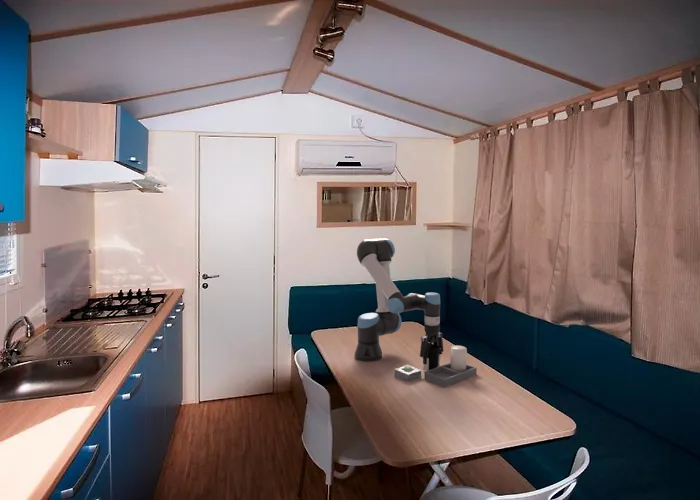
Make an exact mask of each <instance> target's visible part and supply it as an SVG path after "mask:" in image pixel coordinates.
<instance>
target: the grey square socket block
mask: <svg viewBox="0 0 700 500" xmlns="http://www.w3.org/2000/svg"><path fill="white" fill-rule="evenodd" d="M406 366H409V367H412V371H410V372H406V371H404V367H406ZM394 377H396V378H399V379H401V380H403V381H405V382H408V383H409V382H412V381H414V380H415V381H416V380H417V379H420V378H422V369H419V368H417V367H415V366H412V365H409V364H406V365H403V366H400V367H397V368H394Z"/></svg>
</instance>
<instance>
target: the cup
mask: <svg viewBox="0 0 700 500" xmlns="http://www.w3.org/2000/svg"><path fill="white" fill-rule="evenodd" d="M439 349H441V348H440V346H438V348H436V347H435V346H434V344H433V343H432V345H431V347H430V348H429V354H428V357H427V358H429V370H431V369H434V368H437V367H438V359H439Z"/></svg>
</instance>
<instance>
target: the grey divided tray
mask: <svg viewBox="0 0 700 500" xmlns="http://www.w3.org/2000/svg"><path fill="white" fill-rule="evenodd" d="M477 368H478V367H475V366H473V365H470V364H468V363H466V371H464V372H461V373H460V372H457V371H454V370H451V369H450V362H449V363H446V364H444V365H443V364H442V365H440V367H437V368H434V369H431V370H428V371H426V370H424V374H423V375H424V378H423V379H424V380H427V381H429V382H431V383H433V384H435V385H438V386H441V387H442V388H447V387H450V386H451V385H454V384H456V383H460V382H462V381H464V380H467V379H469V378H471V377H474V376H477V371H478V369H477Z"/></svg>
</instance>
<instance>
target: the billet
mask: <svg viewBox="0 0 700 500" xmlns="http://www.w3.org/2000/svg"><path fill="white" fill-rule="evenodd" d="M467 355H468V350H467V347H465V346H463V345H452V346H450V362H449V363H450V369H451V370H454V371H457V372H460V373H461V372H464V371H466V364H467V363H468V362H467V359H468V358H467Z"/></svg>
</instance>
